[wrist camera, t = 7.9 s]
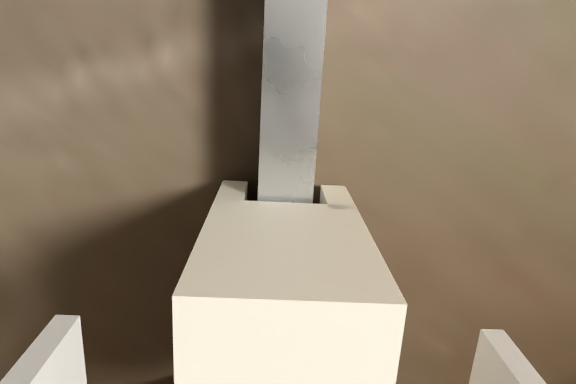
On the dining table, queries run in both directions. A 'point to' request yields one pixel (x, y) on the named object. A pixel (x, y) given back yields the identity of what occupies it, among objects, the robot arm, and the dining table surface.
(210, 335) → the block
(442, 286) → the dining table surface
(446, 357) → the dining table surface
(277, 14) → the rail
